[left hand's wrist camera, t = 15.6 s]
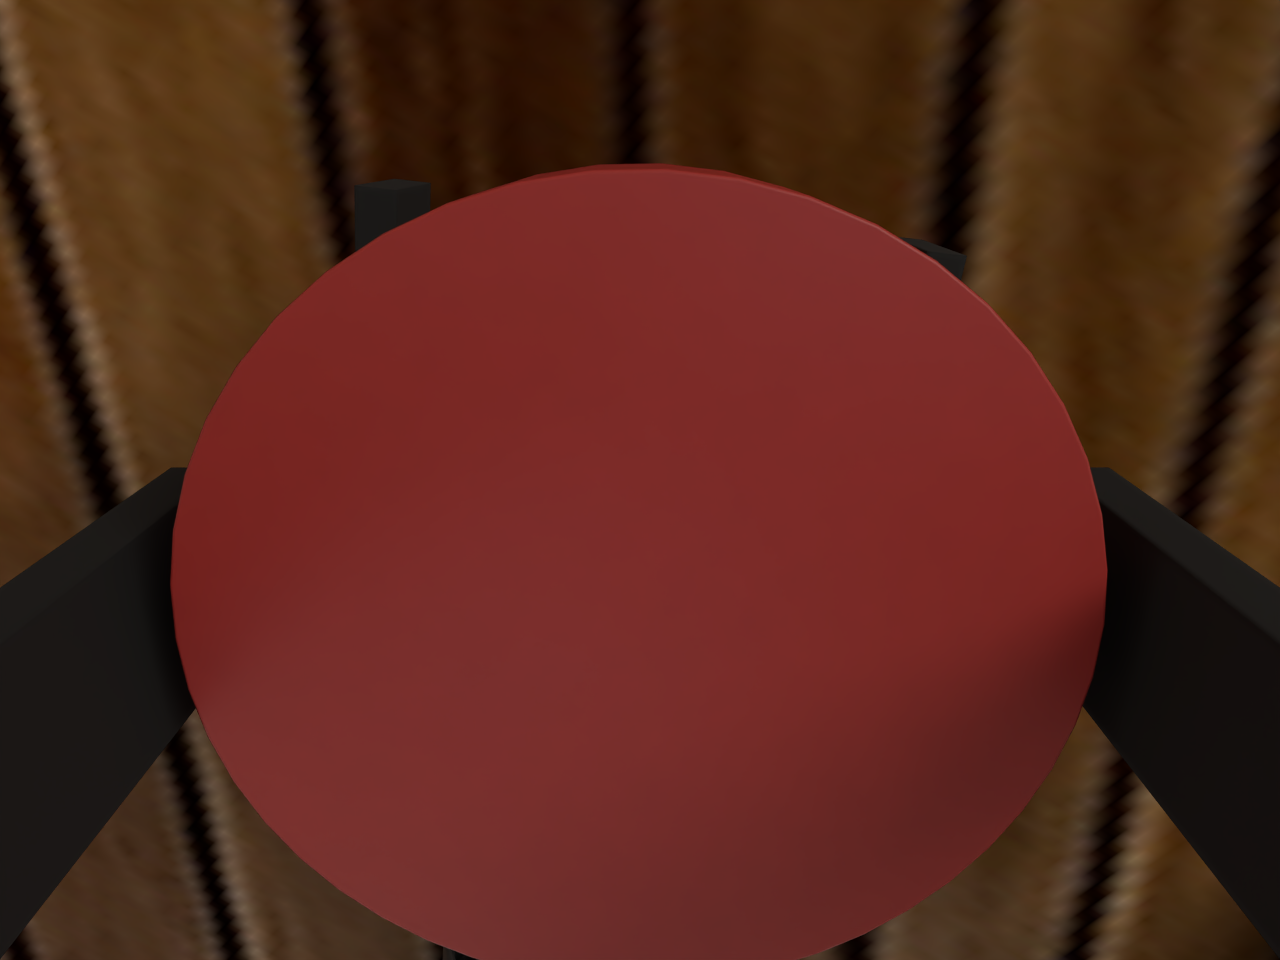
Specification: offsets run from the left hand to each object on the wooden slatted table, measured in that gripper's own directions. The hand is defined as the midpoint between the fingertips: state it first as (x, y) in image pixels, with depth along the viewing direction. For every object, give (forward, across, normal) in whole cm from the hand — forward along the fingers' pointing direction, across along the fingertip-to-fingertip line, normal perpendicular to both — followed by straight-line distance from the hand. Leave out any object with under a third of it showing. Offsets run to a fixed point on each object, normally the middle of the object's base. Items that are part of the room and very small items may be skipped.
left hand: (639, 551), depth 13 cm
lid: (-2, 0, 0) cm, 2 cm away
